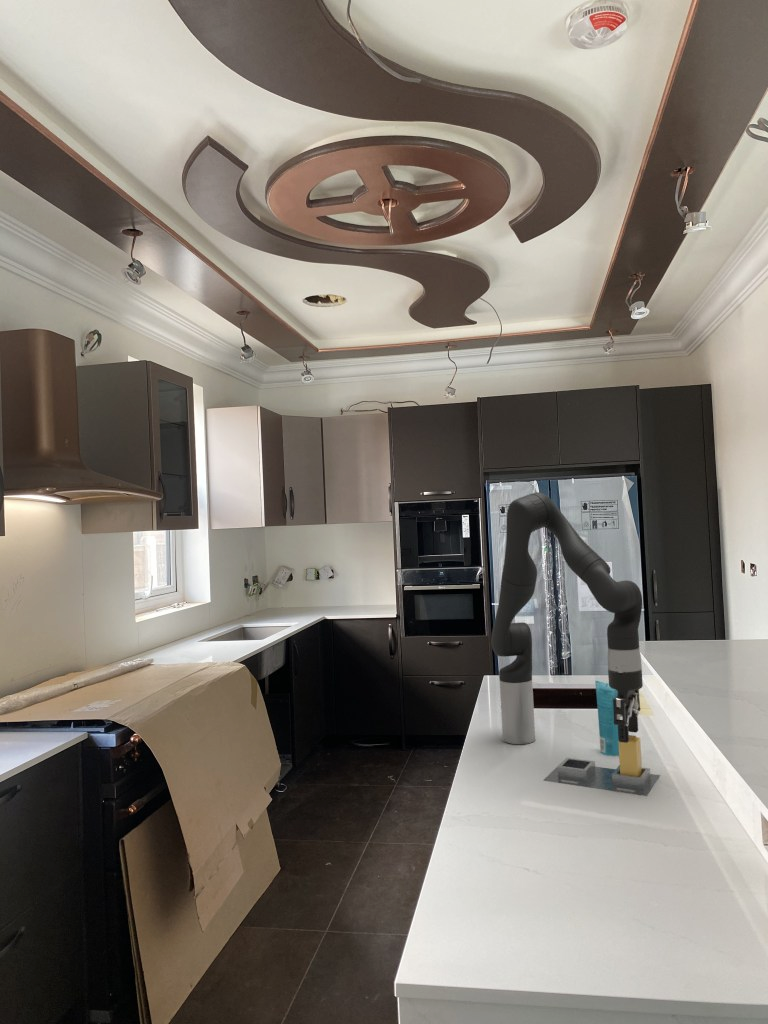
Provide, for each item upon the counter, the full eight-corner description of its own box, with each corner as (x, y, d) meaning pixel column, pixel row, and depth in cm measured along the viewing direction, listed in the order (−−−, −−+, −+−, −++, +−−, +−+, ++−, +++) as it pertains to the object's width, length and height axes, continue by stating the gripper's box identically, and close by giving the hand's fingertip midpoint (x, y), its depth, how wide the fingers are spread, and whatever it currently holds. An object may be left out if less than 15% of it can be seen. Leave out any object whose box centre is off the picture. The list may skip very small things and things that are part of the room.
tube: (628, 757, 194) (624, 683, 194) (617, 761, 191) (613, 686, 191) (603, 750, 200) (599, 679, 200) (592, 755, 197) (588, 682, 197)
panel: (562, 765, 190) (561, 752, 190) (660, 779, 178) (659, 764, 178) (543, 784, 178) (542, 769, 178) (647, 800, 166) (646, 784, 166)
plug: (625, 778, 177) (622, 732, 177) (642, 780, 175) (640, 734, 175) (620, 783, 174) (618, 737, 174) (638, 786, 172) (635, 739, 172)
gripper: (616, 660, 182) (620, 727, 182) (599, 672, 170) (603, 743, 170) (648, 662, 178) (652, 730, 178) (633, 674, 166) (637, 747, 166)
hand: (628, 736), depth 174 cm, fingers open, 8 cm apart
